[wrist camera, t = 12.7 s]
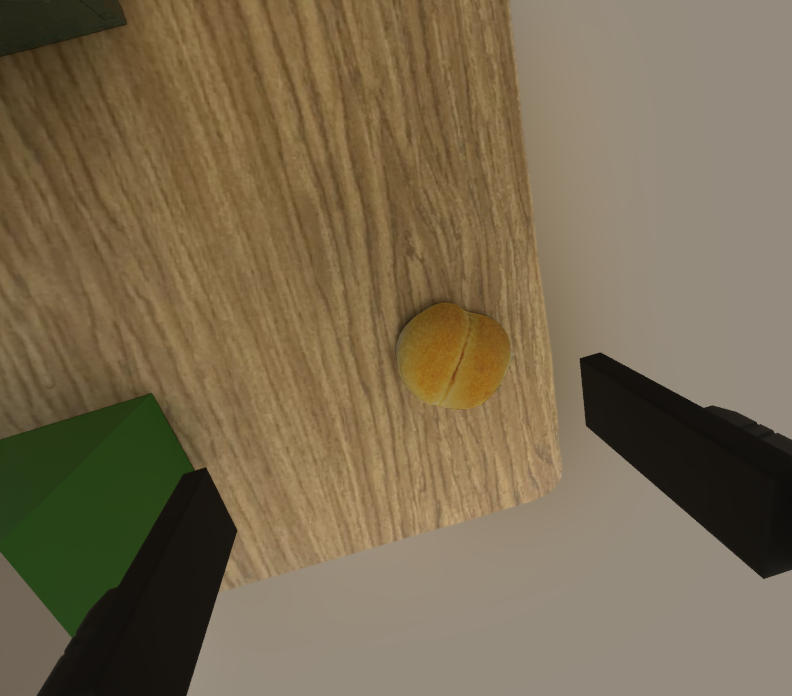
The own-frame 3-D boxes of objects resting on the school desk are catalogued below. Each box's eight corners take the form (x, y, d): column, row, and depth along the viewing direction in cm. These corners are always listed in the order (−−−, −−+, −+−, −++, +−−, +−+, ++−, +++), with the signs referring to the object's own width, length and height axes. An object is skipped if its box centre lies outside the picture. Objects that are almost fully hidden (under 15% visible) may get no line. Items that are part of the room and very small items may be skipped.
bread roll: (414, 288, 31) (425, 299, 27) (515, 325, 33) (537, 339, 29) (377, 383, 33) (382, 405, 29) (474, 411, 35) (490, 435, 32)
